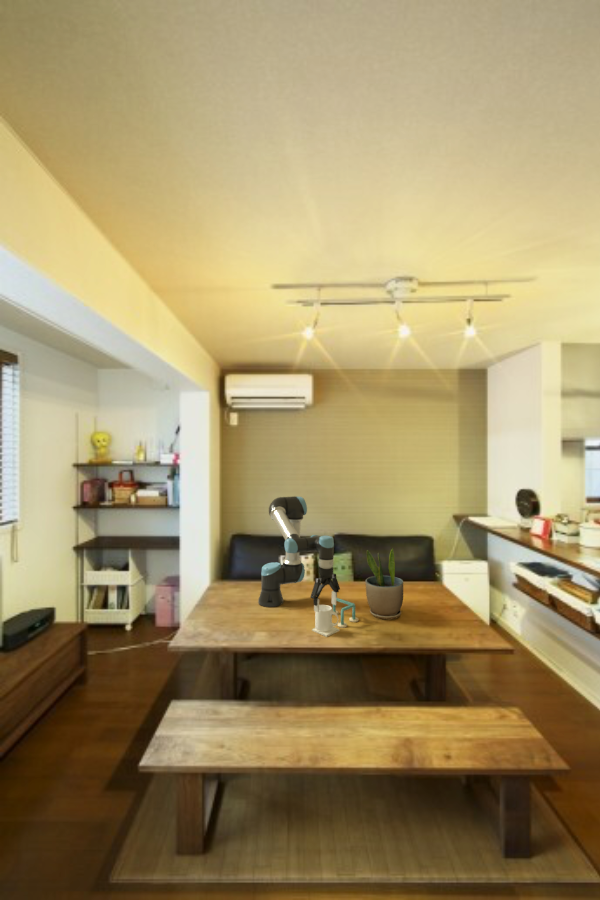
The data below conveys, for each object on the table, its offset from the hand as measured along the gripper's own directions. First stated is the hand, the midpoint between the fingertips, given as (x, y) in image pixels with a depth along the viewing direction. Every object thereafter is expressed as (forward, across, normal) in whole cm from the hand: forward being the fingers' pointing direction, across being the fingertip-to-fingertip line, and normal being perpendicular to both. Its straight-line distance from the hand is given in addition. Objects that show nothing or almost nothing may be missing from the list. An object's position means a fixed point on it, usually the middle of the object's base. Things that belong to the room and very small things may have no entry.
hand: (325, 607), depth 210 cm
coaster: (+12, 0, -1) cm, 12 cm away
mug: (+11, 0, -1) cm, 11 cm away
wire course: (+12, +16, +4) cm, 20 cm away
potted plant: (+12, +40, -10) cm, 43 cm away
